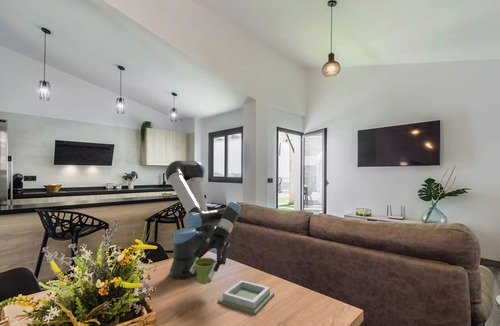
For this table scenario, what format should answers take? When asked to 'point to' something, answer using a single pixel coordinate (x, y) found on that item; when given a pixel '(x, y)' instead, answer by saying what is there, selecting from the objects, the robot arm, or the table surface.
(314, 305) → the table surface
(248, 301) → the grey green square tray
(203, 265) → the plant pot
